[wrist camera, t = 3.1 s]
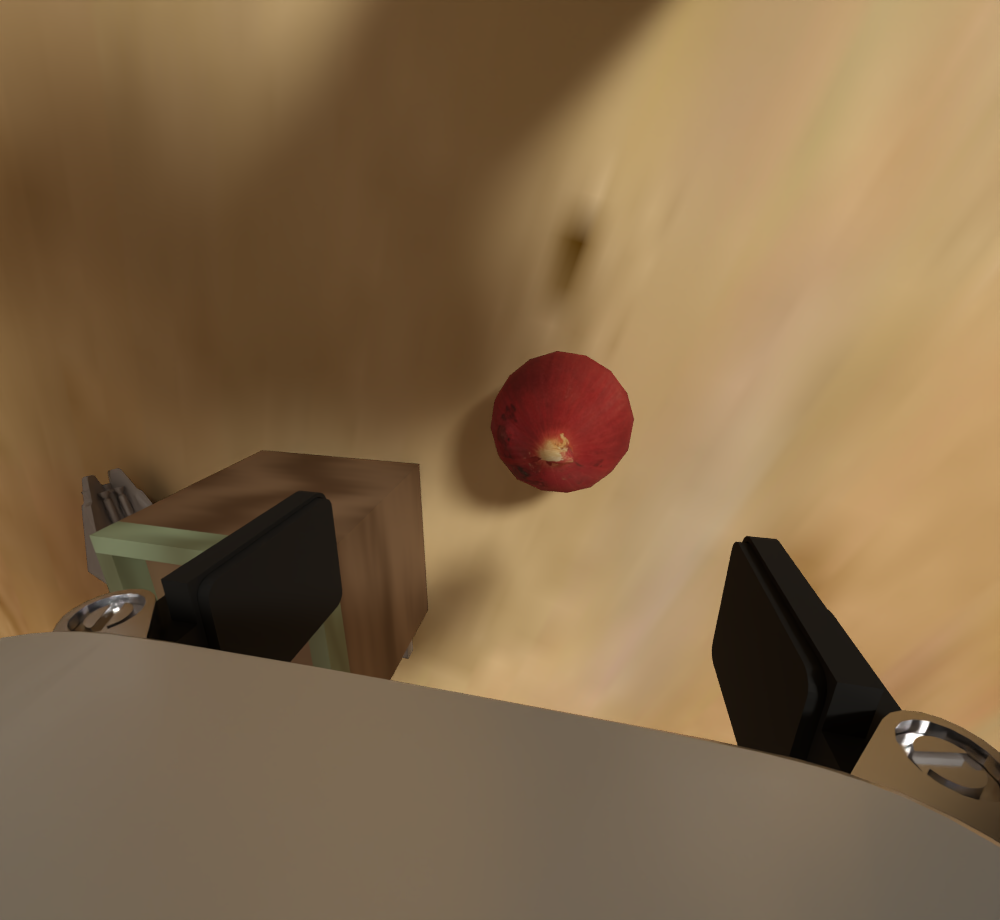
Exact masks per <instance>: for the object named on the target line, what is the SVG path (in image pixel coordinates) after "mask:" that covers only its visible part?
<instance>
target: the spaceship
mask: <svg viewBox="0 0 1000 920" xmlns="http://www.w3.org/2000/svg"><path fill="white" fill-rule="evenodd" d="M108 476H109V481H110V483H109V484H105V485H101V484H100V482H99V481H98V479H97V478H96V477H95V476H94V475H90V476H86V477H83V478H82V486H83V492H81V493H82V494H83V498H84V504H83V505H82V516H83V526H84V536H85V545H86V555H87V565H88V572H90V573H91V574H93V575H94V576H96V577H97V578H98V579H100V580H101V581H103V582H104V583H106V580H105V578H104V575H103V572H102V569H101V566H100V564H99V561H98V558H97V555H96V553H95V550H94V547H93V544H92V541H91V539H90V536H89V535H91V534H93V533H95V532H97V531H99V530H101V529H103V528H105V527H107V526H109V525H111V524H113V523H116V522H118V521H120V520H122V519H124V518H126V517H128V516H130V515H132V514H134V513H136V512H138V511H140V510H142V509H144V508H146V507H148V506H150V505H152V504H153V503H152V502H151V501H150V500H149V499H148V497H147V496H146V495H145V494H144V492H143V491H142V490H139V489H137V488H136V487H135V485H134V484H133V483H132V482H131V481H130V479H129V478H128V477H127V476H126V475H125V474H124V472H123V471H122V470H121V469H119V468H117V469H113V470H109V471H108ZM106 584H107V583H106Z"/></svg>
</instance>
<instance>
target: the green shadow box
mask: <svg viewBox="0 0 1000 920" xmlns="http://www.w3.org/2000/svg"><path fill="white" fill-rule="evenodd" d="M297 491H309V492H319V493H323V494H324V495H325V497H326V499H329V500H330V502H331V504H332V510H333V518H334V526H335V534H336V542H337V550H338V558H339V567H340V575H341V583H342V598H341V601H340V603H339V605H338V607H337V608H336V609H335V610H334V611H333V612H332V614H331V615H330V616H329V617H328V618H327V620H326V621H325V622H324V623H323V624H322V625H321V627H320V628H319V629H318V630H317V631H316V633H315V634H314V635H313V636H312V637H311V638H310V640H309V641H308V642H307V643H306V644H305V645H304V647H303V648H302V649H301V650H300V651H299V653H298V654H297V655H296V656H295V657H294V658H293V660H292V661H291V663H296V664H302V665H308V666H314V667H319V668H325V669H330V670H336V671H342V672H347V673H353V674H358V675H364V676H370V677H375V678H381V679H387V680H390V679H391V677H392V676H393V674H394V672H395V670H396V668H397V666H398V665H399V663H400V661H401V659H402V658H407V659H409V657H410V655H411V653H412V651H413V643H412V639H413V637H414V635H415V633H416V631H417V629H418V628H419V626H420V624H421V622H422V620H423V618H424V616H425V615H426V613H427V611H428V601H427V585H426V569H425V553H424V537H423V520H422V504H421V488H420V472H419V464H412V463H401V462H389V461H378V460H366V459H355V458H343V457H332V456H320V455H309V454H298V453H286V452H275V451H263V450H262V451H260V452H258V453H255V454H253V455H251V456H249V457H247V458H245V459H243V460H241V461H239V462H237V463H235V464H233V465H231V466H229V467H227V468H225V469H223V470H221V471H219V472H217V473H215V474H213V475H211V476H209V477H207V478H205V479H203V480H201V481H199V482H197V483H195V484H193V485H191V486H189V487H187V488H184V489H182V490H180V491H178V492H176V493H174V494H172V495H170V496H168V497H166V498H164V499H162V500H160V501H158V502H156V503H154V504H152V505H150V506H148V507H146V508H144V509H142V510H140V511H138V512H136V513H134V514H132V515H130V516H128V517H126V518H124V519H122V520H120V521H118V522H116V523H113V524H111V525H109V526H107V527H105V528H103V529H101V530H99V531H97V532H95V533H93V534H91V535H89V536H90V539H91V541H92V544H93V547H94V550H95V553H96V555H97V558H98V561H99V564H100V566H101V569H102V572H103V575H104V578H105V580H106V583H107V586H108V589H109V591H110V593H111V592H115V591H120V590H126V589H144V590H148V591H151V592H152V593H153V594H154V595H155V597H156V600H159V599H160V598H161V597H163V596H164V595H165V593H164V590H163V586H162V583H161V579H162V578H163V577H165V576H167V575H168V574H170V573H171V572H173V571H174V570H176V569H177V568H179V567H180V566H182V565H184V564H185V563H187V562H188V561H190V560H191V559H193V558H194V557H196V556H198V555H199V554H201V553H202V552H204V551H205V550H207V549H208V548H210V547H211V546H213V545H215V544H216V543H218V542H219V541H221V540H222V539H224V538H225V537H227V536H229V535H230V534H232V533H233V532H235V531H236V530H238V529H239V528H241V527H243V526H244V525H246V524H247V523H249V522H250V521H252V520H253V519H255V518H256V517H258V516H260V515H261V514H263V513H264V512H266V511H267V510H269V509H270V508H272V507H274V506H275V505H277V504H278V503H280V502H281V501H283V500H284V499H286V498H287V497H289V496H291V495H292V494H294V493H295V492H297Z"/></svg>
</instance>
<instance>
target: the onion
mask: <svg viewBox="0 0 1000 920" xmlns="http://www.w3.org/2000/svg"><path fill="white" fill-rule="evenodd" d="M633 421H634V418H633V414H632V410H631V406H630V402H629V398H628V395H627V392H626V391H625V390H624V388H623V387H622V386H621V384H620V383H619V382H618V380H617V379H616V378H615V376H614V375H613V374H612V372H611V371H610V370H608V369H607V368H605V367H604V366H602V365H600V364H599V363H597V362H596V361H594V360H592V359H591V358H589V357H587V356H585V355H578V354H572V353H566V352H560V351H556V352H553V353H549V354H546V355H543V356H539V357H536V358H533V359H530V360H529V361H527V362H526V363H525V364H524V365H522V366H521V367H520V368H519V369H517V370H516V371H515V372H514V373H512V374H511V375H510V376H509V378H508V379H507V381H506V382H505V384H504V386H503V387H502V389H501V390H500V392H499V393H498V395H497V397H496V399H495V402H494V408H493V415H492V422H491V431H492V434H493V438H494V441H495V445H496V449H497V452H498V455H499V457H500V459H501V460H502V461H503V462H504V463H505V465H506V466H507V467H508V468H509V470H510V471H511V472H512V473H513V475H514V476H515V477H516V478H517V479H518V480H520V481H522V482H525V483H527V484H529V485H531V486H534V487H536V488H538V489H540V490H545V491H555V492H564V493H568V492H572V491H576V490H580V489H585V488H589V487H591V486H593V485H594V484H595V483H597V482H598V481H600V480H601V479H602V478H604V477H605V476H607V475H608V474H609V473H610V472H611V471H612V470H613V469H614V468H615V467H616V465H617V464H618V463H619V461H620V460H621V459H622V457H623V456H624V455H625V453H626V452H627V451H628V448H629V442H630V437H631V432H632V426H633Z"/></svg>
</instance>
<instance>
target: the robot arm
mask: <svg viewBox="0 0 1000 920" xmlns="http://www.w3.org/2000/svg"><path fill="white" fill-rule="evenodd" d="M161 583H162V586H163V590H164V593H165V595H164V596H163V597H161V598H160V599H159V600H156V597H155V595H154V594H153V593H152V592H151V591H148V590H144V589H126V590H120V591H115V592H111V593H108V594H104V595H101V596H98V597H96V598H93V599H91V600H89V601H86V602H84V603H83V604H81V605H79V606H77V607H75V608H73V609H72V610H71V611H70V612H68V613H67V614H66V615H64V616H63V617H62V618H61V620H60V621H59V622H58V623H57V625H56V626H55V628H54V630H53V632H45V633H33V634H25V635H18V636H11V637H5V638H0V920H1000V752H998V751H997V750H996V749H994V748H993V747H992V746H991V745H989V744H988V743H987V742H985V741H984V740H982V739H981V738H979V737H977V736H976V735H974V734H972V733H971V732H969V731H967V730H966V729H964V728H962V727H960V726H958V725H956V724H953V723H951V722H949V721H947V720H944V719H942V718H939V717H936V716H933V715H929V714H926V713H922V712H916V711H906V710H901V709H900V707H899V706H898V704H897V703H896V702H895V700H894V699H893V697H892V696H891V695H890V693H889V692H888V690H887V689H886V688H885V686H884V685H883V683H882V682H881V681H880V679H879V678H878V677H877V675H876V674H875V672H874V671H873V670H872V668H871V667H870V665H869V664H868V663H867V661H866V660H865V658H864V657H863V656H862V654H861V653H860V651H859V650H858V649H857V647H856V646H855V644H854V643H853V642H852V640H851V639H850V638H849V636H848V635H847V633H846V632H845V631H844V629H843V628H842V626H841V625H840V624H839V622H838V621H837V619H836V618H835V617H834V615H833V614H832V613H831V612H830V611H829V610H828V609H827V608H826V607H825V605H824V604H823V603H822V601H821V600H820V598H819V597H818V596H817V594H816V593H815V591H814V590H813V589H812V587H811V586H810V584H809V583H808V582H807V580H806V579H805V577H804V576H803V575H802V573H801V572H800V570H799V569H798V568H797V566H796V565H795V563H794V562H793V560H792V559H791V558H790V556H789V555H788V553H787V552H786V551H785V549H784V548H783V546H782V545H781V544H780V542H779V541H778V540H777V539H770V538H760V537H750V536H746V537H745V538H744V540H743V541H742V542H735V543H734V545H733V547H732V551H731V556H730V561H729V566H728V571H727V576H726V581H725V586H724V590H723V595H722V600H721V605H720V610H719V615H718V620H717V624H716V629H715V634H714V639H713V644H712V660H713V664H714V668H715V671H716V674H717V678H718V681H719V684H720V688H721V691H722V694H723V698H724V701H725V704H726V708H727V711H728V714H729V718H730V721H731V725H732V728H733V731H734V735H735V738H736V741H737V745H738V746H737V745H732V744H728V743H723V742H719V741H714V740H709V739H704V738H699V737H694V736H688V735H683V734H678V733H672V732H667V731H662V730H656V729H651V728H646V727H640V726H635V725H630V724H625V723H619V722H614V721H609V720H603V719H598V718H593V717H587V716H582V715H577V714H571V713H566V712H561V711H555V710H550V709H545V708H539V707H534V706H528V705H523V704H518V703H512V702H507V701H501V700H496V699H491V698H485V697H480V696H474V695H469V694H464V693H458V692H453V691H447V690H442V689H436V688H431V687H425V686H420V685H414V684H409V683H403V682H398V681H392V680H387V679H381V678H375V677H370V676H364V675H358V674H353V673H347V672H342V671H336V670H330V669H325V668H319V667H314V666H308V665H302V664H296V663H291V661H292V660H293V658H294V657H295V656H296V655H297V654H298V653H299V651H300V650H301V649H302V648H303V647H304V645H305V644H306V643H307V642H308V641H309V640H310V638H311V637H312V636H313V635H314V634H315V633H316V631H317V630H318V629H319V628H320V627H321V625H322V624H323V623H324V622H325V621H326V620H327V618H328V617H329V616H330V615H331V614H332V612H333V611H334V610H335V609H336V608H337V607H338V605H339V603H340V601H341V598H342V583H341V575H340V567H339V558H338V550H337V542H336V534H335V526H334V518H333V510H332V504H331V502H330V500H329V499H326V497H325V495H324V494H323V493H319V492H309V491H297V492H295V493H294V494H292V495H291V496H289V497H287V498H286V499H284V500H283V501H281V502H280V503H278V504H277V505H275V506H274V507H272V508H270V509H269V510H267V511H266V512H264V513H263V514H261V515H260V516H258V517H256V518H255V519H253V520H252V521H250V522H249V523H247V524H246V525H244V526H243V527H241V528H239V529H238V530H236V531H235V532H233V533H232V534H230V535H229V536H227V537H225V538H224V539H222V540H221V541H219V542H218V543H216V544H215V545H213V546H211V547H210V548H208V549H207V550H205V551H204V552H202V553H201V554H199V555H198V556H196V557H194V558H193V559H191V560H190V561H188V562H187V563H185V564H184V565H182V566H180V567H179V568H177V569H176V570H174V571H173V572H171V573H170V574H168V575H167V576H165V577H163V578H162V579H161Z"/></svg>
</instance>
